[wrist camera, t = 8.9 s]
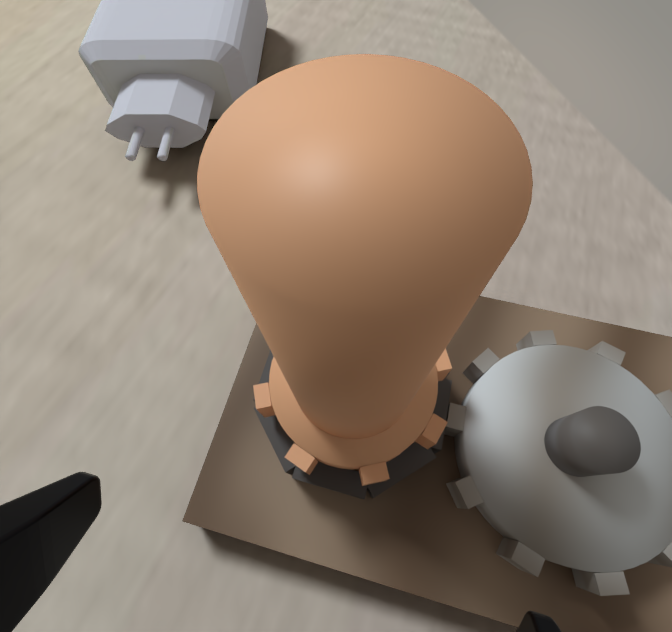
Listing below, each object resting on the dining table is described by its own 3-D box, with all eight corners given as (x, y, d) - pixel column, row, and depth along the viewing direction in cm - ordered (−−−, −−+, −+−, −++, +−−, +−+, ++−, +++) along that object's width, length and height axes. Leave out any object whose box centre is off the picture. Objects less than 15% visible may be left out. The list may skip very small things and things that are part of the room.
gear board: (659, 351, 19) (758, 303, 14) (675, 670, 14) (830, 750, 10) (286, 269, 21) (269, 206, 17) (196, 519, 17) (137, 527, 12)
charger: (88, 190, 24) (146, 30, 30) (243, 191, 24) (270, 29, 30) (31, 122, 20) (112, -49, 26) (219, 122, 19) (256, -51, 26)
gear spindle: (454, 466, 16) (788, 363, 4) (284, 504, 15) (66, 520, 3) (408, 313, 18) (518, -28, 6) (262, 342, 18) (96, 35, 6)
